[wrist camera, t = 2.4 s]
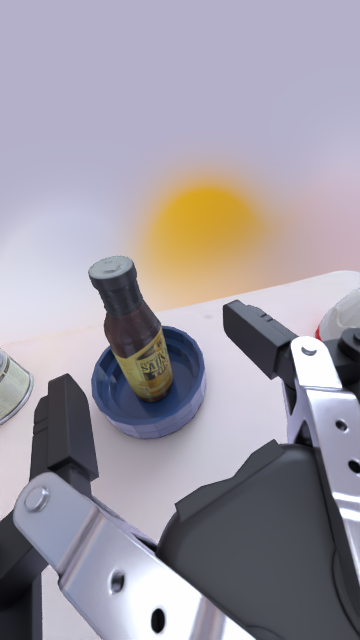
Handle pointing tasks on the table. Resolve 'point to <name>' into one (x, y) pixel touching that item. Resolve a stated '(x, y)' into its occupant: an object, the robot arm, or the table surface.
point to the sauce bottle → (132, 329)
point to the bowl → (162, 414)
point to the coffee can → (12, 386)
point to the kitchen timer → (340, 317)
